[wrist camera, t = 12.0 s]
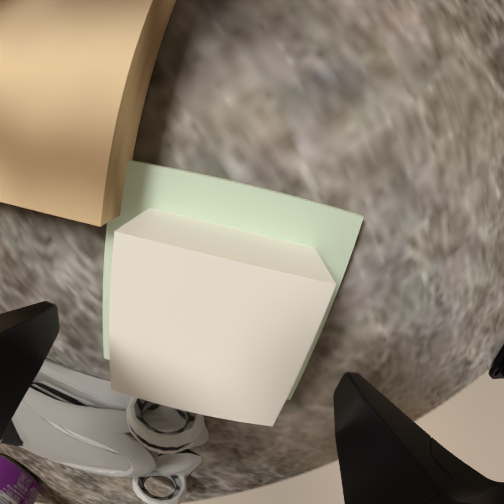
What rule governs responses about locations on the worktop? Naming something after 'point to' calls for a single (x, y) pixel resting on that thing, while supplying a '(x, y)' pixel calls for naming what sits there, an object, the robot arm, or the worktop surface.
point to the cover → (211, 315)
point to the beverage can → (16, 483)
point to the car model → (106, 431)
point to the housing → (74, 100)
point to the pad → (235, 220)
